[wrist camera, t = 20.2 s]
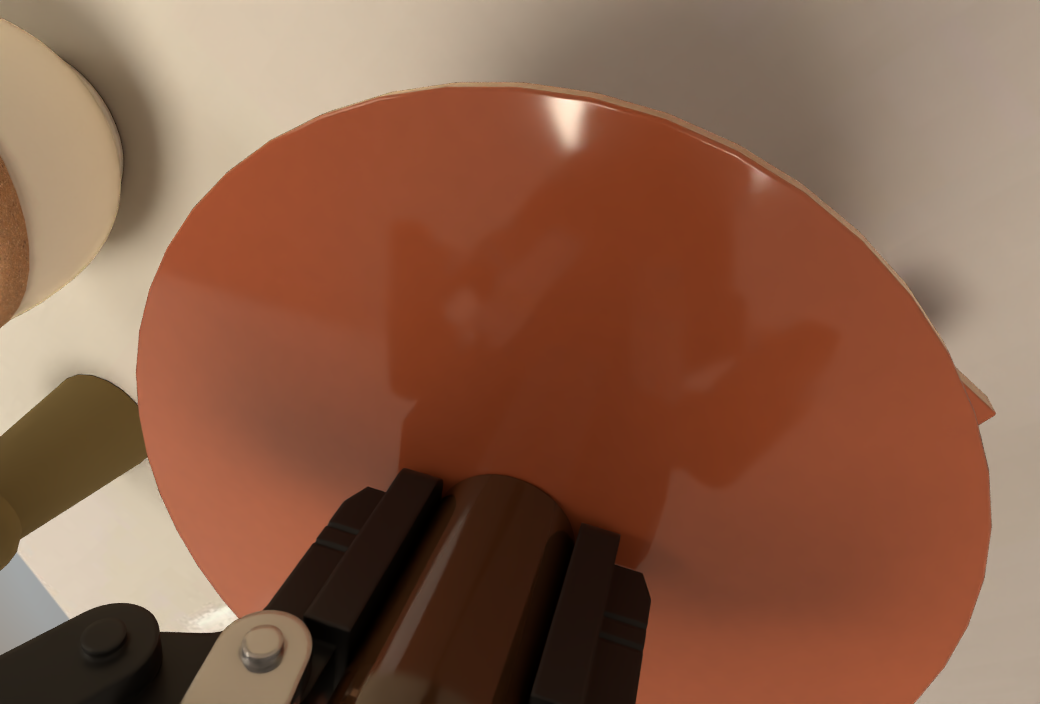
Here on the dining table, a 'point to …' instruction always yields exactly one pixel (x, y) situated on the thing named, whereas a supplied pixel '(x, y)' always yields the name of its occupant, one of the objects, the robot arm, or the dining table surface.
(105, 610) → the robot arm
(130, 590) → the dining table surface
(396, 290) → the lid
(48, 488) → the olive game pawn
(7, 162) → the lidded bowl
